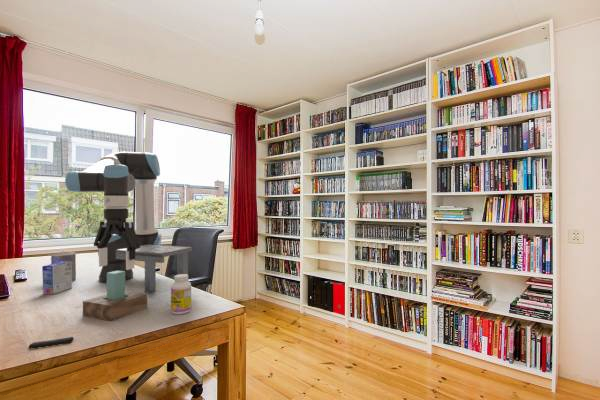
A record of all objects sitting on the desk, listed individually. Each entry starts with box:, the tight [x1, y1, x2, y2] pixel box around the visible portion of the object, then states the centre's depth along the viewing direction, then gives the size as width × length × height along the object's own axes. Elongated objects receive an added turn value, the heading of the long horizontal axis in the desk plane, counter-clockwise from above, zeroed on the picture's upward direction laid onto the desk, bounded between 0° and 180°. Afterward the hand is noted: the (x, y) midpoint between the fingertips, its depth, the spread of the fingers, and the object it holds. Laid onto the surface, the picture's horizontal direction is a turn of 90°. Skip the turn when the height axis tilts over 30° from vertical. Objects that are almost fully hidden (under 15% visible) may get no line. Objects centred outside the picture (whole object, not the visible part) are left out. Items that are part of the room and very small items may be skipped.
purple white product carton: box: [50, 251, 77, 282], centre depth 152 cm, size 10×10×15 cm
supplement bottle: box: [170, 274, 192, 316], centre depth 108 cm, size 7×7×13 cm
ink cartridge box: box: [41, 258, 73, 295], centre depth 135 cm, size 10×6×14 cm, turn 174°
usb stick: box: [28, 336, 74, 349], centre depth 84 cm, size 10×3×2 cm, turn 113°
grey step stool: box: [116, 244, 193, 293], centre depth 125 cm, size 24×16×20 cm, turn 69°
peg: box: [106, 271, 126, 301], centre depth 109 cm, size 4×4×14 cm
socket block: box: [82, 290, 148, 322], centre depth 109 cm, size 14×14×5 cm
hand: (116, 267), depth 109 cm, fingers open, 13 cm apart
